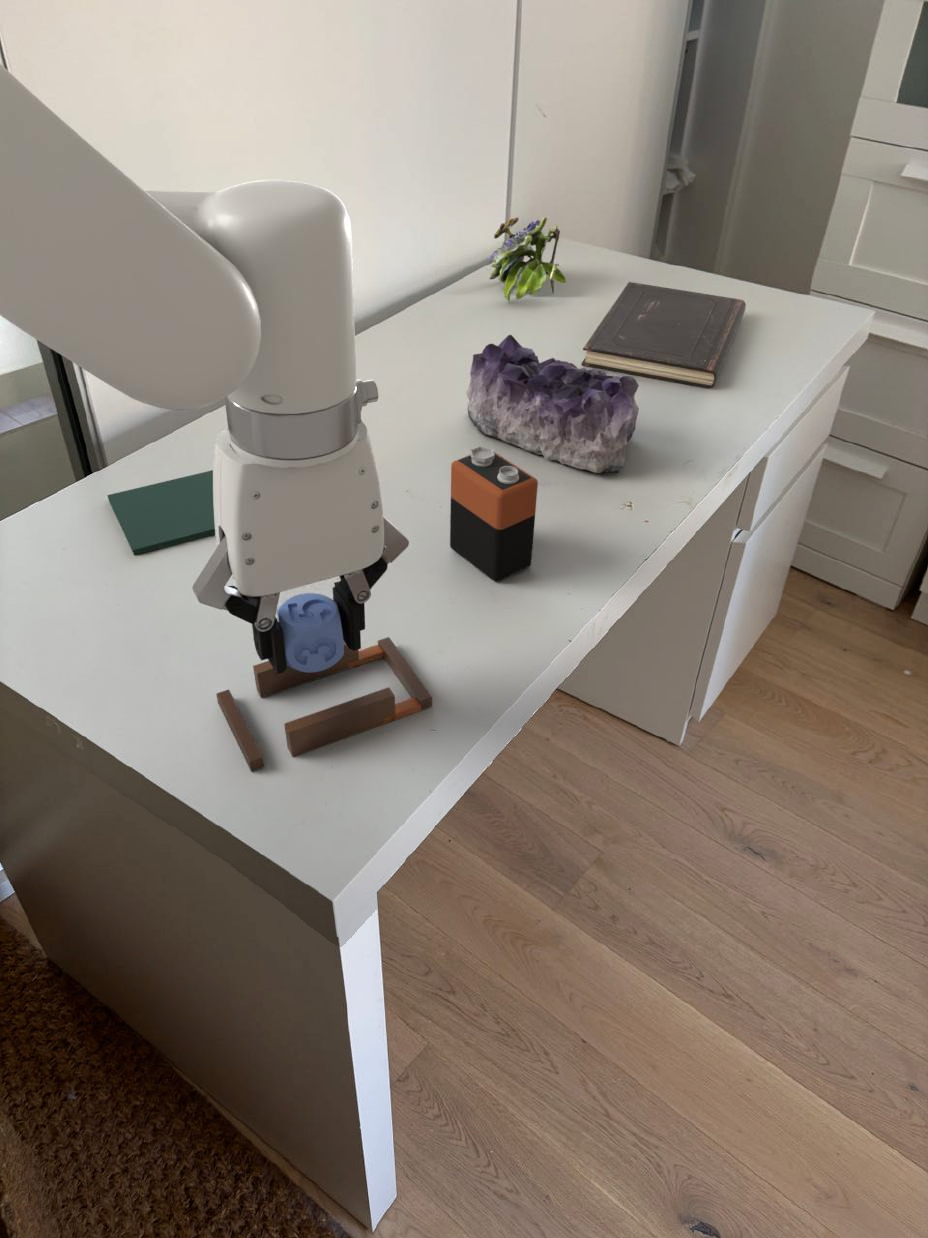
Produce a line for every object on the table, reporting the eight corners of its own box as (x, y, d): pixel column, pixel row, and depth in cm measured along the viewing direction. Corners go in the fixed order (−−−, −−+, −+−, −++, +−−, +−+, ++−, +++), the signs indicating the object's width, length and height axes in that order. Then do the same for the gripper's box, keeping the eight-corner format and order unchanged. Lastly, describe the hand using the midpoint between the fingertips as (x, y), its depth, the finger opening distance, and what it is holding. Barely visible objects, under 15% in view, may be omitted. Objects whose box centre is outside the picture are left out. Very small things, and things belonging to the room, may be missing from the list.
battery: (484, 532, 89) (488, 436, 83) (533, 567, 85) (541, 469, 79) (447, 548, 87) (448, 451, 81) (495, 585, 83) (501, 486, 77)
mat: (134, 555, 85) (132, 549, 85) (108, 500, 92) (107, 494, 92) (304, 510, 91) (303, 505, 91) (268, 461, 98) (268, 456, 98)
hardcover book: (581, 365, 117) (583, 347, 115) (626, 298, 133) (628, 281, 132) (713, 389, 113) (717, 371, 111) (743, 316, 129) (747, 300, 128)
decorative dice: (280, 640, 69) (275, 596, 67) (335, 632, 70) (333, 588, 67) (287, 677, 66) (282, 632, 64) (345, 668, 67) (342, 624, 64)
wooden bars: (251, 772, 67) (246, 747, 65) (217, 702, 72) (212, 678, 70) (432, 706, 72) (432, 682, 70) (389, 646, 77) (388, 622, 75)
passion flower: (502, 319, 140) (508, 234, 140) (575, 317, 136) (581, 230, 136) (474, 297, 130) (480, 206, 129) (552, 294, 126) (559, 200, 125)
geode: (435, 437, 103) (439, 343, 97) (489, 408, 111) (496, 320, 106) (610, 487, 94) (625, 387, 89) (654, 451, 103) (670, 358, 98)
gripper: (397, 364, 62) (398, 589, 74) (129, 414, 55) (176, 652, 67) (451, 414, 57) (443, 647, 69) (164, 476, 50) (208, 722, 62)
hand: (311, 647), depth 68 cm, fingers closed on decorative dice, 4 cm apart
